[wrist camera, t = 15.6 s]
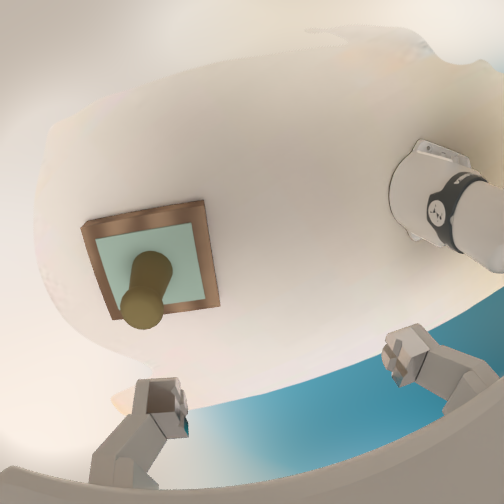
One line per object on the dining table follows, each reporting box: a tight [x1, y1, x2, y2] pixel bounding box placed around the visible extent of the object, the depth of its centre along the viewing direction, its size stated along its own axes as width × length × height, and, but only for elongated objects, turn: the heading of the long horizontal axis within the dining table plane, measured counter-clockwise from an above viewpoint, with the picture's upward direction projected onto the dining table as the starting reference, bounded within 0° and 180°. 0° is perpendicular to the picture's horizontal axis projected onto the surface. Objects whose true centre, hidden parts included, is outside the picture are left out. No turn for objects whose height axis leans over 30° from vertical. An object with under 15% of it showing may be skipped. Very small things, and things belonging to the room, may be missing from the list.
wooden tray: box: [81, 200, 220, 320], centre depth 41 cm, size 18×16×3 cm
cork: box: [120, 251, 173, 330], centre depth 35 cm, size 6×6×11 cm
